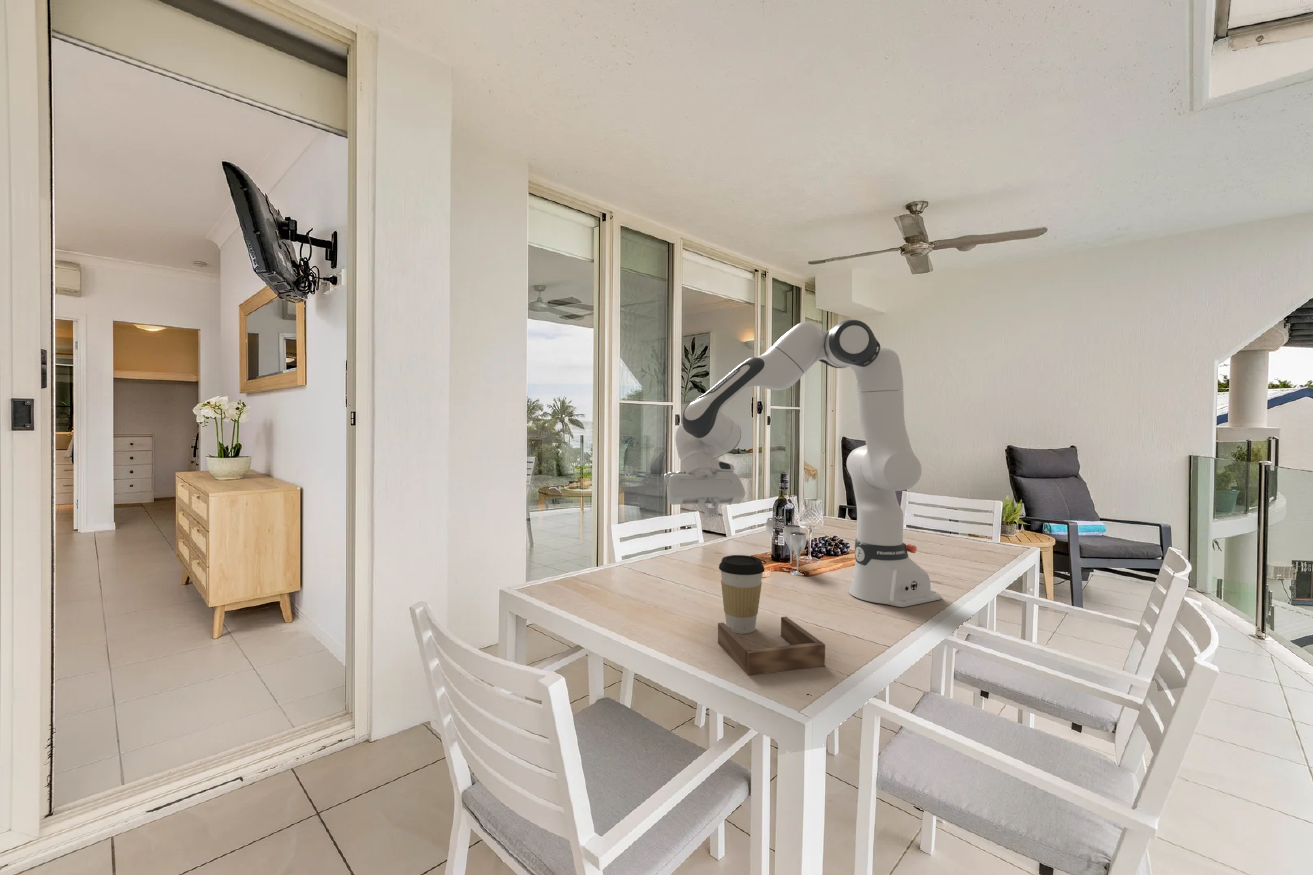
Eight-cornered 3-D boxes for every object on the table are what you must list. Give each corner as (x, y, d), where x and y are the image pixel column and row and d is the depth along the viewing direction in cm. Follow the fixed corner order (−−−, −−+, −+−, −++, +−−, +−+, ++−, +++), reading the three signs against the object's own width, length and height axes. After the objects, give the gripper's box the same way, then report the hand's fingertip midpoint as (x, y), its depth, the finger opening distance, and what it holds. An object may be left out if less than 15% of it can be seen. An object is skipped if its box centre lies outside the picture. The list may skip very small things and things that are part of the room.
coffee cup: (754, 618, 126) (755, 553, 125) (770, 635, 116) (771, 565, 115) (712, 620, 124) (713, 555, 123) (725, 638, 114) (726, 566, 114)
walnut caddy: (785, 635, 116) (786, 616, 116) (824, 665, 102) (825, 644, 102) (717, 642, 112) (718, 622, 112) (748, 675, 98) (748, 652, 98)
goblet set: (809, 575, 161) (810, 530, 161) (790, 575, 160) (791, 530, 160) (779, 552, 189) (780, 513, 188) (763, 552, 188) (763, 513, 188)
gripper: (664, 464, 140) (675, 509, 131) (739, 464, 145) (753, 507, 136) (659, 479, 144) (669, 524, 135) (731, 479, 150) (745, 522, 141)
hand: (712, 515), depth 136 cm, fingers closed
